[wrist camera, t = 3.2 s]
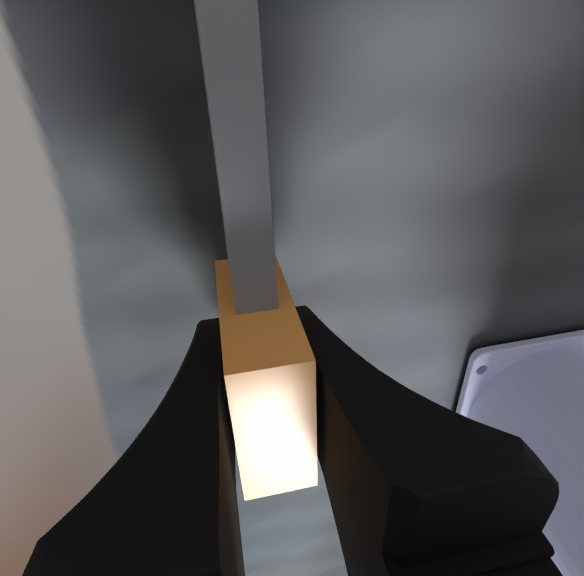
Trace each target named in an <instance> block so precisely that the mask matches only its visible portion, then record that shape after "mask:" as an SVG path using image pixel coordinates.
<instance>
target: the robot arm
mask: <svg viewBox="0 0 584 576" xmlns="http://www.w3.org/2000/svg"><path fill="white" fill-rule="evenodd" d="M295 308H296V310H297V313H298V315H299V318H300V321H301V323H302V326H303V328H304V331H305V334H306V336H307V339H308V342H309V344H310V347H311V349H312V352H313V355H314V357H315V360H316V415H317V456H318V459H319V462H320V465H321V468H322V471H323V475H324V479H325V483H326V487H327V490H328V494H329V498H330V502H331V506H332V510H333V514H334V518H335V522H336V526H337V530H338V534H339V539H340V543H341V547H342V551H343V555H344V559H345V564H346V568H347V572H348V576H584V330H579V331H574V332H568V333H562V334H557V335H551V336H545V337H539V338H534V339H528V340H522V341H517V342H511V343H505V344H500V345H494V346H488V347H483V348H479V349H477V350H475V351H474V352H473V353H472V354H471V356H470V358H469V362H468V366H467V370H466V373H465V377H464V381H463V385H462V389H461V393H460V397H459V401H458V405H457V409H456V412H454V411H452V410H449V409H447V408H445V407H443V406H441V405H439V404H437V403H435V402H433V401H431V400H429V399H427V398H425V397H423V396H421V395H419V394H417V393H416V392H414V391H412V390H410V389H408V388H407V387H405V386H403V385H401V384H400V383H398V382H396V381H395V380H393V379H392V378H390V377H389V376H387V375H386V374H384V373H383V372H381V371H379V370H378V369H377V368H375V367H374V366H373V365H371V364H370V363H369V362H367V361H366V360H365V359H363V358H362V357H361V356H360V355H358V354H357V353H356V352H355V351H353V350H352V349H351V348H350V347H349V346H348V345H346V344H345V343H344V342H343V341H342V340H341V339H340V338H338V337H337V336H336V335H335V334H334V333H333V332H332V331H331V330H330V329H329V328H328V327H327V326H326V325H325V324H324V323H323V322H322V321H321V320H320V319H319V318H318V317H317V316H316V315H315V314H314V313H313V312H312V311H311V310H310V309H309V308H308V307H307V306H298V307H295ZM22 576H245V572H244V562H243V553H242V543H241V534H240V524H239V514H238V504H237V494H236V477H235V440H234V434H233V427H232V421H231V415H230V409H229V403H228V397H227V391H226V385H225V379H224V371H223V359H222V347H221V335H220V323H219V318H215V319H208V320H201V321H200V322H199V323H198V324H197V328H196V331H195V334H194V337H193V340H192V343H191V345H190V347H189V350H188V352H187V354H186V357H185V359H184V361H183V363H182V365H181V367H180V369H179V371H178V373H177V375H176V377H175V379H174V381H173V383H172V384H171V386H170V388H169V390H168V391H167V393H166V395H165V397H164V398H163V400H162V402H161V403H160V405H159V406H158V408H157V409H156V411H155V413H154V414H153V415H152V417H151V418H150V420H149V421H148V423H147V424H146V426H145V427H144V428H143V430H142V431H141V432H140V434H139V435H138V436H137V438H136V439H135V440H134V441H133V443H132V444H131V445H130V447H129V448H128V449H127V450H126V452H125V453H124V454H123V455H122V456H121V458H120V459H119V460H118V461H117V462H116V463H115V465H114V466H113V467H112V468H111V469H110V470H109V471H108V472H107V473H106V474H105V476H104V477H103V478H102V479H101V480H100V481H99V482H98V483H97V484H96V485H95V486H94V488H93V489H92V490H91V491H90V492H89V493H88V494H87V495H86V496H85V497H84V498H83V499H82V500H81V501H80V502H79V503H78V504H77V505H76V506H75V507H74V508H73V509H72V510H71V511H69V512H68V513H67V514H66V515H65V516H64V517H63V518H62V519H61V520H60V521H59V522H58V523H57V524H56V525H55V526H53V527H52V528H51V529H50V530H49V532H47V533H46V534H45V535H44V536H42V537H41V538H40V539H39V540H38V541H37V543H36V546H35V548H34V550H33V553H32V555H31V557H30V559H29V562H28V564H27V566H26V568H25V570H24V573H23V575H22Z"/></svg>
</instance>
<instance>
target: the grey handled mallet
mask: <svg viewBox="0 0 584 576" xmlns="http://www.w3.org/2000/svg"><path fill="white" fill-rule="evenodd" d="M194 7H195V15H196V23H197V30H198V38H199V45H200V53H201V60H202V68H203V75H204V83H205V90H206V98H207V105H208V113H209V120H210V128H211V135H212V143H213V150H214V158H215V165H216V173H217V180H218V188H219V195H220V203H221V210H222V218H223V225H224V233H225V240H226V248H227V255H228V259H225V260H217V261H214V262H215V274H216V286H217V299H218V311H219V323H220V335H221V347H222V359H223V371H224V379H225V385H226V391H227V397H228V403H229V409H230V415H231V421H232V427H233V434H234V440H235V446H236V452H237V458H238V464H239V470H240V476H241V482H242V488H243V494H244V500H245V501H246V500H251V499H255V498H260V497H265V496H269V495H274V494H279V493H284V492H288V491H293V490H298V489H302V488H307V487H312V486H317V415H316V360H315V357H314V355H313V352H312V349H311V347H310V344H309V342H308V339H307V336H306V334H305V331H304V328H303V326H302V323H301V321H300V318H299V315H298V313H297V310H296V308H295V305H294V302H293V300H292V297H291V294H290V292H289V289H288V287H287V284H286V281H285V279H284V276H283V274H282V271H281V268H280V266H279V263H278V261H277V258H276V255H275V248H274V234H273V219H272V204H271V189H270V174H269V160H268V145H267V130H266V115H265V100H264V86H263V71H262V56H261V41H260V26H259V11H258V0H194Z"/></svg>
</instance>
